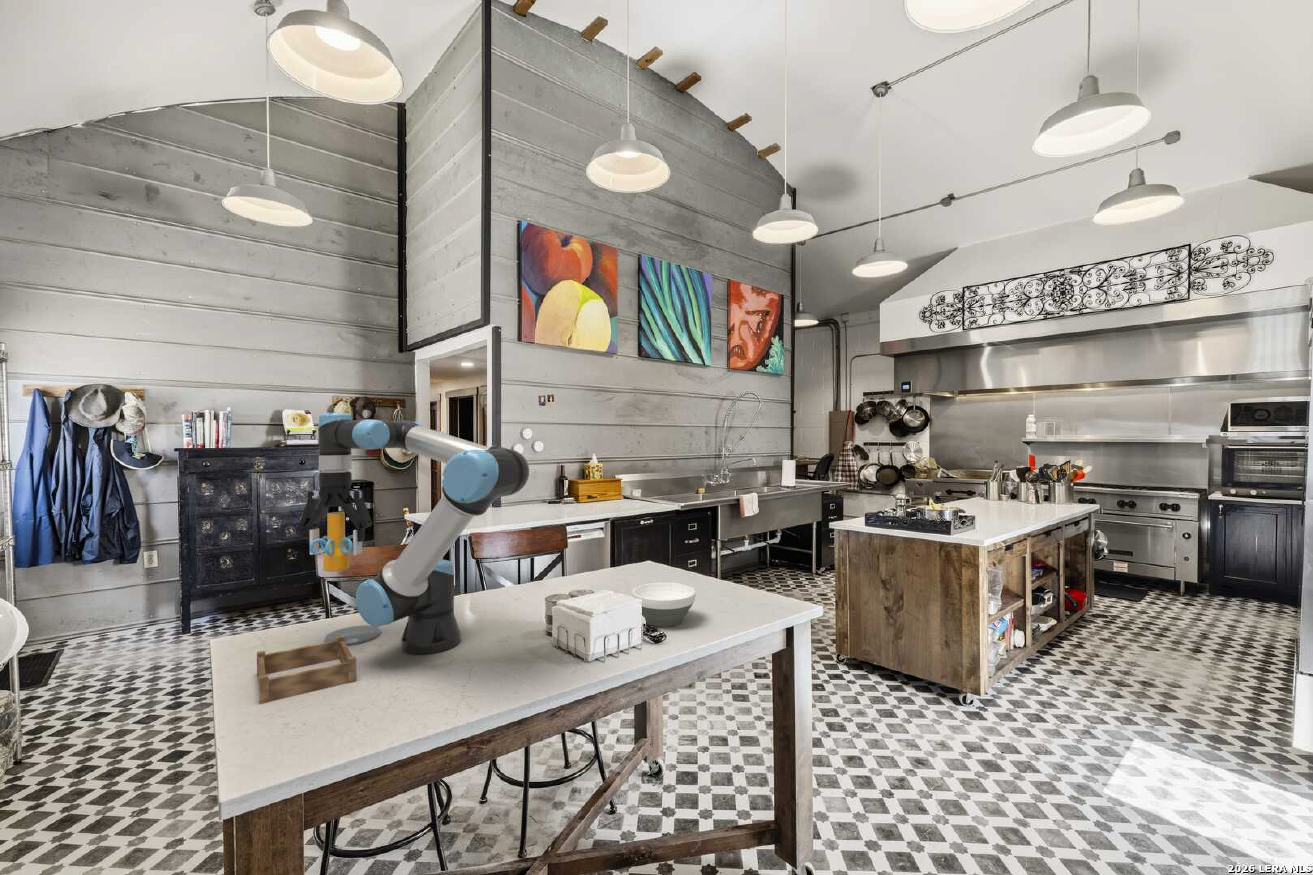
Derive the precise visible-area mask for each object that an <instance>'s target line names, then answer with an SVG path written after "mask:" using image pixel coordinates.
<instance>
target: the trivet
mask: <svg viewBox="0 0 1313 875" xmlns="http://www.w3.org/2000/svg"><path fill="white" fill-rule="evenodd" d="M343 635H344V636H345V644H346V645H347V647H348V646H355V645H356V646H357V645H360V644H364V643H367V642H371V641H372V640H375V639H377V638H378V637H379V636H380V635H381V628H380V627H376V626H371V625H355V626H349V627H344V628H340V629H336V630H334V631H332V632H330V633H328V634H326V635H325V637H324V643H326V642H331V641H336V640H337V637H338V636H343Z"/></svg>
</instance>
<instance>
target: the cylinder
mask: <svg viewBox="0 0 1313 875" xmlns="http://www.w3.org/2000/svg"><path fill="white" fill-rule="evenodd" d="M326 515H327V517H326V518H327V519H326V520H327V521H326V522H327V523H326V524H327V528H326V529H327V535H324V536H322V537H321V538H319V539H316V540H314V541H313V542H312V543H311V544H310V543H309V552H310V551H311V553H313V555H315V556H320V555H323V557H322V558H323V561H322V562H323V564H322V565H323V571H324V572H327V573H332V572H333V573H335V572H343V571H345V570H349V569H350V553H352V551H353V540H351V539H353V534H351V535H348V536H346V530H345V529H346V523H345V522H346V519H345V518H346V512H345V511H333V512H327V513H326ZM316 542H319V548H320V549H321V551H319V552H316V551H314V550H313V545H314V544H315V543H316Z"/></svg>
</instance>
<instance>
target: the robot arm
mask: <svg viewBox="0 0 1313 875" xmlns="http://www.w3.org/2000/svg"><path fill="white" fill-rule="evenodd" d="M317 430H318V470H319V471H321V472H319V473H318V486H319V488H320V489H319V490H317V489H316V490H310V491H309V490H308V491H307V501H306V504H305V506H304V510H303V513H302V516H301V519H300V521H299V527H300V528H303V529H306V540H307V542H309V545H310V544H311V543H312V542H313V541H314V540H316V539H320V528H318V525H319V523H320V521H321V520H322V518H323V517H324V515H325V514H326V512H327V511H328V509H329V508H331V507H336V508H339V507H340V508H341V509H342V510H343V512H345V515H346V516H347V517H348V518H349V520H350V521H351V522H352V524H353V526H354V528H355V529H354V530H352V532H353V533H352V535H353V538H352V544H353V553H352V554H353V556H357V555H360V554H362V553H363V542H364V541H365V539H366V535H365V534H366V528H368V527H371V526H373V521H372V518H371V516H370V513H369V510H368V508H367V505H366V502H365V499H364V490H360V489H359V490H352V484H353V483H352V481H353V480H352V479H353V478H352V477H353V476H352V474H353V473H352V472H351V471H350V470H351V469H352V449H355V450H368V451H369V450H376V449H401V450H405V451H407V452H411V453H413V454H417V455H420V456H423V457H426V458H429V459H431V460H433V461H437V462H441V463H443V464H445V466H444V468H443V472H442V476H443V479H441V483H442V486H441V494H442V497H441V498H440V499H439V501H438V502H437V504H436V505H435V507H434V508H433V509H432V511H431V512H430V513H429V515H428V516H427V518H426V519H425V520H424V522H423V523H422V525H421V526H420V528H419V529H418V530H417V532H416V533H415V534H414V536H413V537H412V538H411V540H410V541H409V543H408V544H406V547H405V548H404V549H403V551H402V552H401V554H399V556H398V558H397V559H393V560H389V561H388V562H387V563H386V564H385V565H384V566H383V568H382V569H381V570H380V571H379V573H378V574H377V575H376V577H374V578H368V579H367V580H364V581H363V582H361V583H360V584H359V585H358V587H357V590H356V593H355V603H356V608H357V611H358V614H359V615H360V617H361V619H362V620H363V621H364V622H366V623H367V624H368V626H375V627H378V628H380V627H382V626H383V627H384V626H387V625H390V624H392V623H394V622H396V621H397V622H398V621H399V620H402V619H404V618H407V622H406V624H405V627H404V630H403V633H402V636H401V642H400V648H401V650H402V652H405V653H407V654H413V655H428V654H435V653H440V652H444V651H447V650H449V649H452V648H454V647H456V646H457V645H459V644H460V643H461V638H462V637H461V634H462V633H461V630H460V626H459V625H458V624H459V623H458V620H457V618H456V615H455V609H454V607H455V606H454V605H455V572H454V570H455V569H454V563H452V562H451V561H450V560H447V559H443V558H444V556H445V555H446V554H447V553H448V551H449V550H450V549H451V547H452V546H453V544H455V543H456V541H457V540H458V538H459V537H460V535H461V534H462V533H463V532H464V530H465V529H466V528H467V526H468V525H469V524H470V522H471V521H472V519H474V517H479V516H482V515H484V514H485V513H486V512H487V511H488V509H489V508H490V506H491V505H492V504H493V502H495V500H496V499H498V498H503V497H508V496H512V495H515V494H517V493H518V492H520V491H521V490H522V489H523V488H524V487H525V486H526V484H527V482H528V480H529V478H530V468H529V463H528V460H527V459H526V457H525V456H524V455H523V454H522V453H520V452H519V451H517V450H515V449H511V448H507V447H502V446H499V445H490V446H486V445H483V444H480V443H476V442H473V441H469V440H467V439H463V438H460V437H456V436H454V435H450V434H447V433H443V432H441V431H437V430H434V429H431V428H427V427H424V426H423V424H421V423H420V422H417V421H411V420H379V419H370V418H369V419H357V420H355V419H354V420H353V419H352V416H351V414H349V413H347V412H346V413H345V412H323V413H321V414H319V416H318V427H317ZM319 498H320V499H321V500H320V502H319V504H318V501H319ZM351 498H352V499H353V502H354V504H353V502H352V500H351ZM317 504H318V505H317ZM354 505H355V507H354ZM316 506H317V508H316ZM315 509H316V510H315ZM313 550H314V551H316V552H320V542H316V543H315V544H314V545H313ZM310 555H311V556H313V555H314V554H313V553H311V551H310V550H309V556H310Z"/></svg>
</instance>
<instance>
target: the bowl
mask: <svg viewBox="0 0 1313 875" xmlns="http://www.w3.org/2000/svg"><path fill="white" fill-rule="evenodd" d="M696 592H697V591H696V589H695V588H694V587H692V586H689V585H686V584H684V583H683V584H682V583H678V582H677V583H676V582H652V583H645V584H641V585H638V586H635V587H634V588H632V592H631V595H632V598H633V597H634V598H638V599H641V600H642V614H641V616H642V617H643V618H644V619H645V622H646V624H648V625H650V626H653V627H656V628H672V627H676V626H678V625H681V623H683V620H684V618H685V617H686V616H687V615H688V613H689V610H690V609H691V608H692V606H693V605H694V602H695V600H696V599H695V598H696V594H697V593H696Z"/></svg>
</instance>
